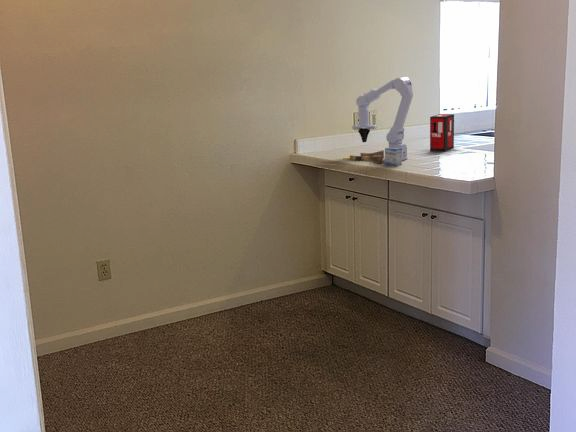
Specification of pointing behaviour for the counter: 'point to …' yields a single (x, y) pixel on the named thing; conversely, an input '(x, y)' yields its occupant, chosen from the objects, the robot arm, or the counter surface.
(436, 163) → the counter surface
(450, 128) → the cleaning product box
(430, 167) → the counter surface
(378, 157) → the walnut crate
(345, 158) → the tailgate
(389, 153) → the medicine box
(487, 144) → the counter surface
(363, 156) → the brown wooden drawer
